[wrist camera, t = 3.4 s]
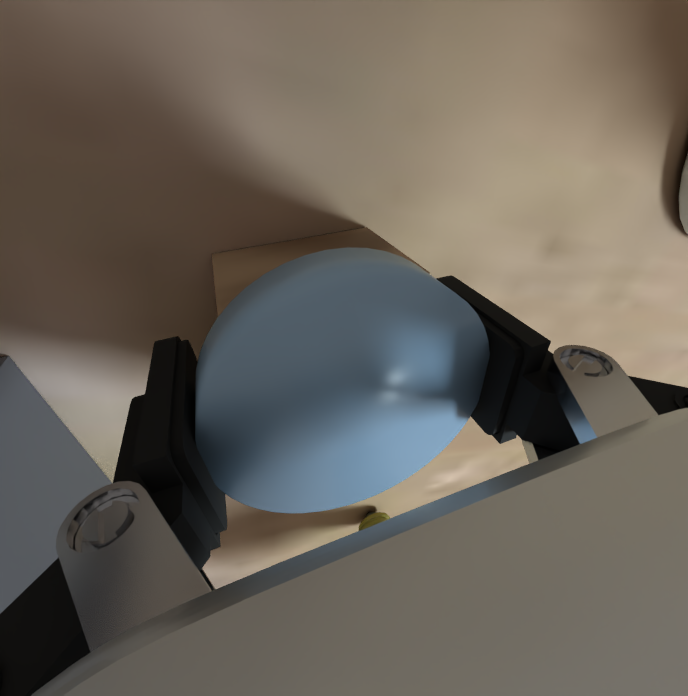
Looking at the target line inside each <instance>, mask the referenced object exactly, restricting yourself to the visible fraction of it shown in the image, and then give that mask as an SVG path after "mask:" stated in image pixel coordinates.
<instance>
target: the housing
mask: <svg viewBox="0 0 688 696" xmlns="http://www.w3.org/2000/svg"><path fill="white" fill-rule="evenodd" d="M109 484H112V483H111V481H110V480H109V479H108V478H107V476H106V475H105V474H104V473H103V471H102V470H101V469H100V468H99V467H98V465H97V464H96V463H95V462H94V460H93V459H92V458H91V457H90V455H89V454H88V453H87V452H86V451H85V449H84V448H83V447H82V446H81V444H80V443H79V442H78V441H77V439H76V438H75V437H74V436H73V435H72V433H71V432H70V431H69V430H68V428H67V427H66V426H65V425H64V423H63V422H62V421H61V420H60V419H59V417H58V416H57V415H56V414H55V412H54V411H53V410H52V409H51V407H50V406H49V405H48V404H47V403H46V401H45V400H44V399H43V398H42V396H41V395H40V394H39V393H38V391H37V390H36V389H35V388H34V386H33V385H32V384H31V383H30V382H29V380H28V379H27V378H26V377H25V375H24V374H23V373H22V372H21V370H20V369H19V368H18V367H17V366H16V364H15V363H14V362H13V361H12V359H11V358H10V357H9V356H6V357H1V358H0V614H1V613H2V612H3V611H4V610H5V609H6V608H7V607H8V606H9V605H10V604H11V603H12V602H13V601H14V600H15V599H16V598H17V597H18V596H19V595H20V594H21V593H22V592H23V591H24V590H25V589H26V588H27V587H28V586H30V585H31V584H32V583H33V582H34V581H35V580H36V579H37V578H38V577H39V576H40V575H41V574H42V573H43V572H44V571H45V570H46V569H47V568H48V567H49V566H50V565H51V564H52V563H53V562H54V561H55V560H56V559H57V558H58V554H57V551H56V537H57V534H58V531H59V528H60V526H61V524H62V523H63V521H64V520H65V518H66V516H67V515H68V514H69V512H70V511H71V510H72V509H73V508H74V507H75V506H76V505H77V504H78V503H79V502H80V501H82V500H83V499H84V498H85V497H87V496H88V495H89V494H91V493H92V492H94V491H96V490H98V489H100V488H102V487H104V486H106V485H109Z"/></svg>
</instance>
